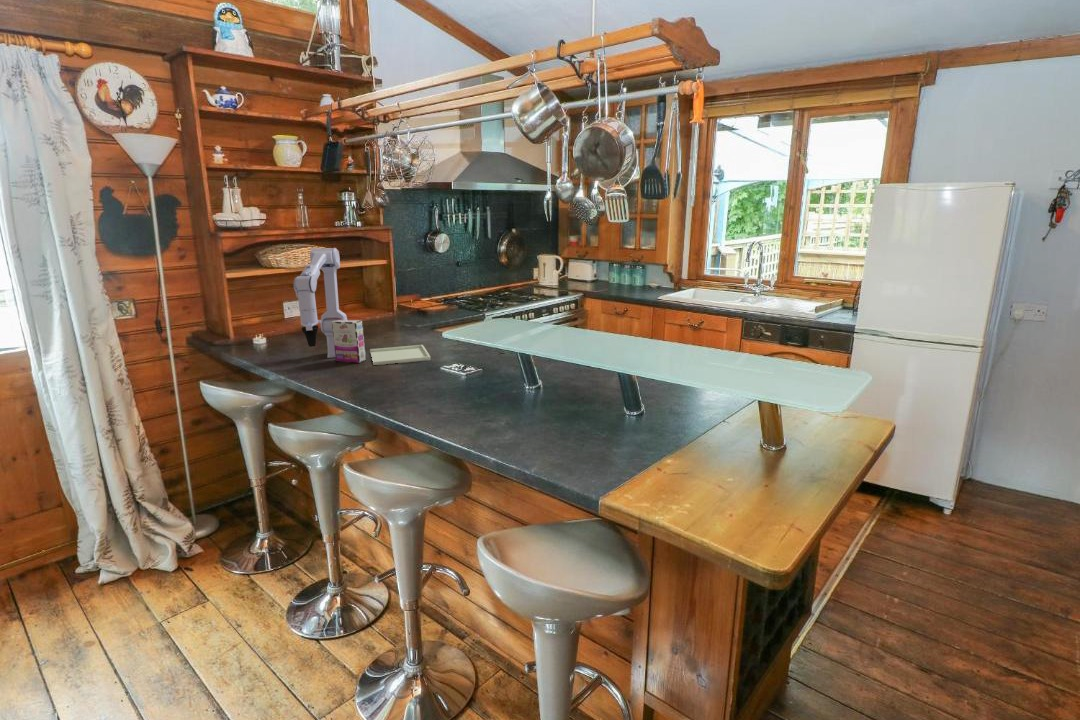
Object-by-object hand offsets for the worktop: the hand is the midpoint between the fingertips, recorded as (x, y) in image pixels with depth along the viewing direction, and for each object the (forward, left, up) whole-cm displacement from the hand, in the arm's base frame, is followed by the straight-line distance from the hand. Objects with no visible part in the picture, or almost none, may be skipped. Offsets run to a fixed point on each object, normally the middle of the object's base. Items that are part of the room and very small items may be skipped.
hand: (312, 346), depth 216 cm
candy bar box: (-13, +13, -11) cm, 21 cm away
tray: (-13, +32, -10) cm, 36 cm away
